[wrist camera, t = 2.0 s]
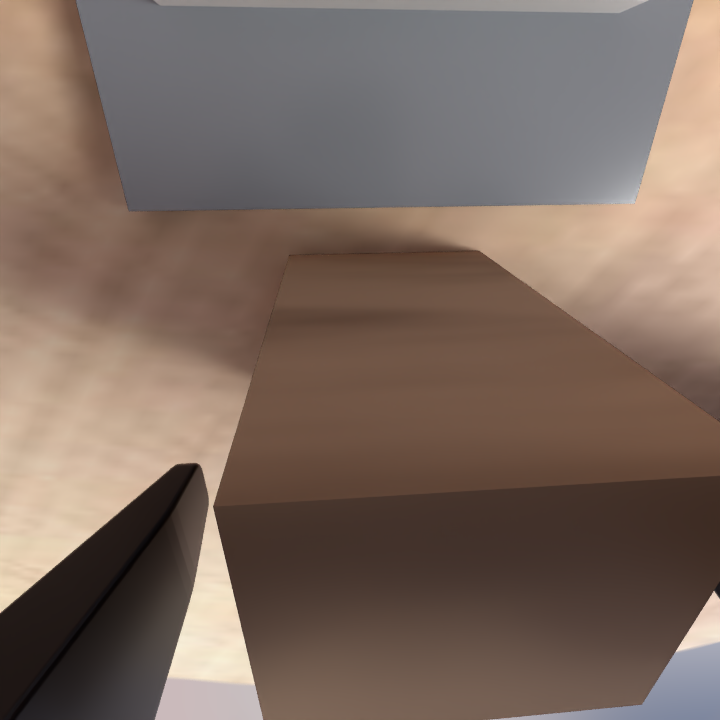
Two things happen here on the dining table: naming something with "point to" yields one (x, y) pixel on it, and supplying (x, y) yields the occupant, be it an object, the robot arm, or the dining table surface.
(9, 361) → the dining table surface
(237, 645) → the dining table surface
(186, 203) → the square frame on plate
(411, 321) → the wooden block
